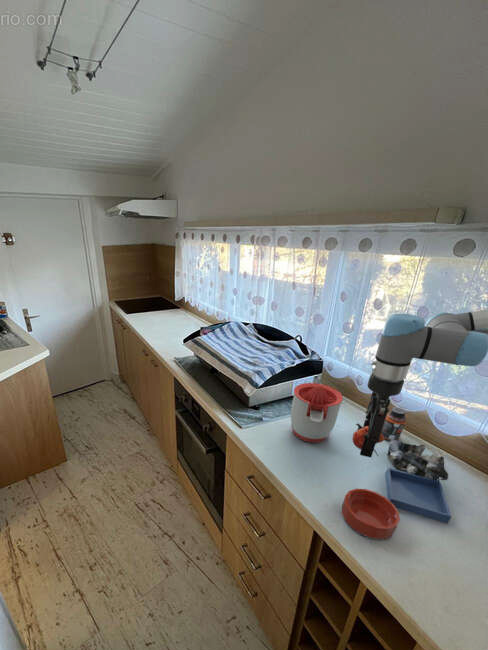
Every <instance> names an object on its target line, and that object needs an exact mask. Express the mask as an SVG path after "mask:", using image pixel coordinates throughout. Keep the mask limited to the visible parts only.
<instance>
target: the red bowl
mask: <svg viewBox="0 0 488 650" xmlns="http://www.w3.org/2000/svg"><path fill="white" fill-rule="evenodd" d="M341 504H342V505H341V514H342V516H343V519H344V521H345V522H346V523H347V524H348V525H349V526H350V528H352V529H353V530H355V531H356V532H358V533H359V534H360V535H362V536H365V537H368V538H369V539H370V538H371V539H373V540H374V539H375V540H386V539H388V538H391V537H392V536H393V535H394V533H395V531H396V530H397V527H398V525H399V523H400V521H401V518H400V511H399V509H398V508H396V507H395V506H394V504H393V503H391V502H390V501H389V500H388V497H386V496H384V495H382V494H380V493H378V492H377V491H373V490H371V489H367V488H353V489H352V490H349V491H348V492H347V493H346V494H345V496H344V499H343V502H342V503H341Z"/></svg>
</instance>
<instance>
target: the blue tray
mask: <svg viewBox="0 0 488 650" xmlns="http://www.w3.org/2000/svg"><path fill="white" fill-rule="evenodd" d="M384 477H385V486H386V495H387V497H386V498H387V499H388V500H389V501H390V502H391V503H393V504H394V506H395V507H396V509H397V510H402V511H405V512H409V513H411V514H415V515H418V516H422V517H425V518H429V519H432V520H434V521H438V522H441V523H444V524H447V525H448V524H449V522H450V520H451V519H452V518H453V517H452V514H451V511H450V510H451V509H450V508H449V504H448V501H447V498H446V494H445V491H444V488H443V485H442V481H441V480H440V481H436V480H433V479H429V478H425V477H421V476H418V475H414V474H410V473H409V472H407V471H402V470H400V469H396V468H391V467H387V468H386V470H385V472H384Z"/></svg>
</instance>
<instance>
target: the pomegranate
mask: <svg viewBox="0 0 488 650" xmlns="http://www.w3.org/2000/svg"><path fill="white" fill-rule="evenodd" d="M354 425H355V426H358V427H357V430H356V431H354V432H353V433H352V443H353V445H354V446H355V447H356V448H358V450H361V449H362V445H363V442H364V439H365V437H363V436H364V434H365V435H367V432H368V428H369V426H365V427H363V425H361V424H360V423H359V422H358V423H356V424H354ZM384 441H385V439H384V437H383V435H382V434H381V435H380V438H379V442H376V444H378V443H382V442H384ZM373 452H374V453H375V454H376V456H377V457H379V454H378V452H377V451H376V449H375V448H374V450H373Z"/></svg>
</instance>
